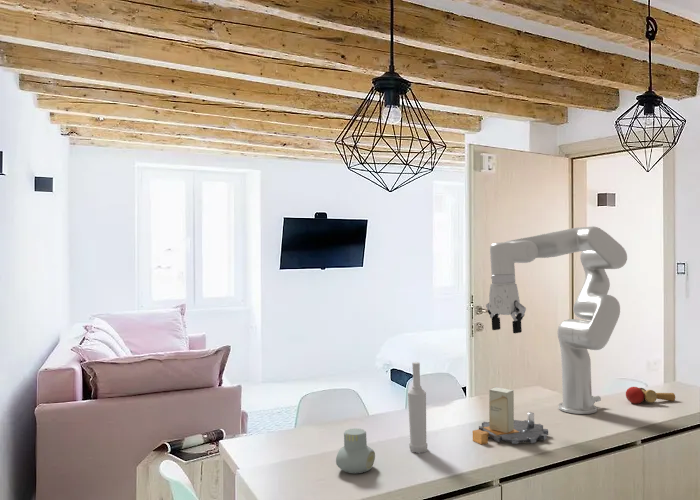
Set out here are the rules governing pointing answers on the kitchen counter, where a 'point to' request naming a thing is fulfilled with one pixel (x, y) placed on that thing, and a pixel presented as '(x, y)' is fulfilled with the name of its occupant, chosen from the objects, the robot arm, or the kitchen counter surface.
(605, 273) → the robot arm
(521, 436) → the sprocket wheel
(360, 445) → the air freshener
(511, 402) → the skincare box
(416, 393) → the bottle
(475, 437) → the wooden block
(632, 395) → the kendama
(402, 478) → the kitchen counter surface
